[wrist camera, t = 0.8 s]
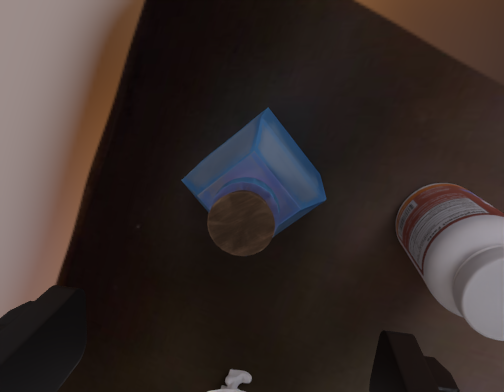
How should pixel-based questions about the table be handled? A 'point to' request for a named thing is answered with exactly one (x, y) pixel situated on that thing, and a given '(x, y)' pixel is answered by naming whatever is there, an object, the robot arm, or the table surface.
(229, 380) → the figurine
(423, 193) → the pill bottle
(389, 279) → the table surface
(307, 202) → the perfume bottle
